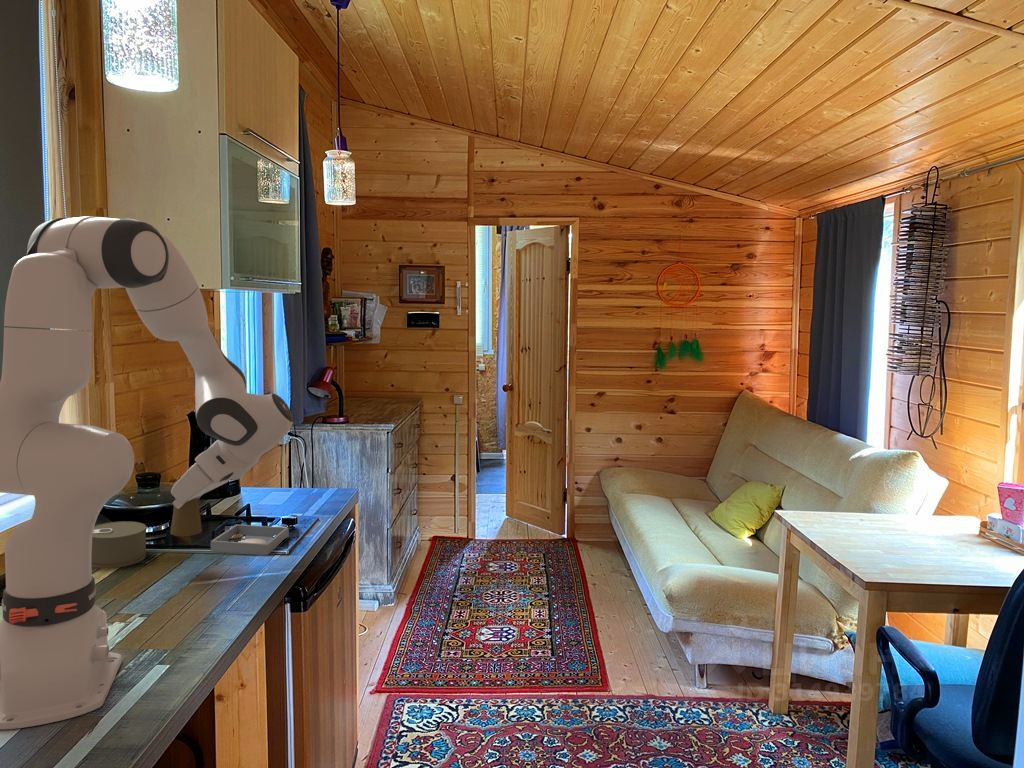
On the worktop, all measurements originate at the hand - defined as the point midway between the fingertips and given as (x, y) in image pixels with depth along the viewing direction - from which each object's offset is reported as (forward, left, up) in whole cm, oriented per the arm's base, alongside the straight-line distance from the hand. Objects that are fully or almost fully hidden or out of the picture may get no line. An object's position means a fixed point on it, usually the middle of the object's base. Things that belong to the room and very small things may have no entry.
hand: (183, 502), depth 153 cm
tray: (+15, -16, -16) cm, 27 cm away
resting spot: (+15, -16, -15) cm, 27 cm away
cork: (0, 0, -6) cm, 6 cm away
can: (+17, +12, -16) cm, 26 cm away
